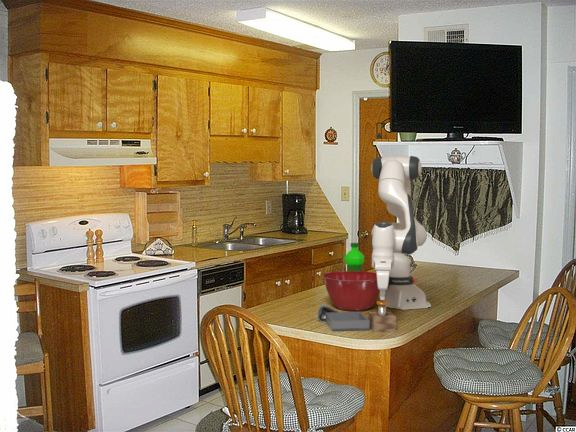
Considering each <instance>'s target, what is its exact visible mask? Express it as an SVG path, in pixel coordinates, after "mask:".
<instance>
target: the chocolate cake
mask: <svg viewBox="0 0 576 432" xmlns="http://www.w3.org/2000/svg"><path fill="white" fill-rule="evenodd" d="M334 312H339V311H337V310H335V309H333V308H332V307H329V306H327V305H325V304H324V303H323V304H322V303H321V304H320V307H319V308H318V311H317V319H318V322H320V323H326V313H334Z"/></svg>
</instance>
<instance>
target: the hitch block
mask: <svg viewBox="0 0 576 432" xmlns="http://www.w3.org/2000/svg"><path fill="white" fill-rule="evenodd" d="M367 314H368V315H367V318H368V319H369V320H370V328H369V330H371V331H372V332H373V333H390V332H391V333H392V332H393V333H394V332H395V333H396V332H397V316H396V315H395V314H393V312H391V311H386V316H378V311H368V313H367Z"/></svg>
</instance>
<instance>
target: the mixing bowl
mask: <svg viewBox="0 0 576 432" xmlns="http://www.w3.org/2000/svg"><path fill="white" fill-rule="evenodd" d="M322 278H323V282H324V284H325V287H326V291H327V294H328V296H329V298H330V300H331V302H332V304H334V306H336V307H337V308H338V309H339V310H342V311H344V312H363V311H367V310H368V309H370V308H372V307H373V306H374V304H375V303H376V302H377V299H378V297H379V296H380V290H379V289H378V285H377V275H376V272H375V271H374V272H372V271H364V270H362V271H347V270H340V271H331V272H330V271H329V272H326V273H323V274H322Z"/></svg>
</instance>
